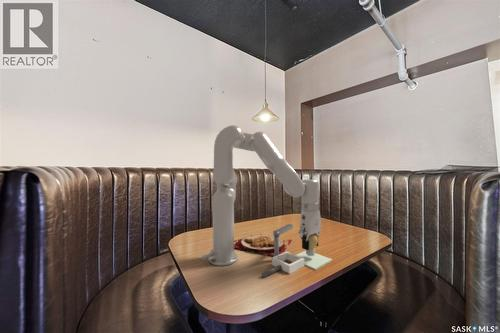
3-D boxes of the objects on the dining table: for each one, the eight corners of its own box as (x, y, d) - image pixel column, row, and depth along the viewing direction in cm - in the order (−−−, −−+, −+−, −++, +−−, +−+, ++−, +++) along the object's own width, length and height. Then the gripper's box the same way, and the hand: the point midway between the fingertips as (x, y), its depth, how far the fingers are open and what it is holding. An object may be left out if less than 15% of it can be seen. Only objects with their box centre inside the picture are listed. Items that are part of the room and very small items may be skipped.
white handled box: (271, 283, 68) (271, 253, 68) (249, 269, 78) (249, 243, 78) (304, 266, 81) (304, 240, 81) (282, 256, 90) (281, 233, 90)
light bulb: (314, 252, 90) (314, 230, 90) (320, 258, 83) (320, 234, 84) (301, 252, 90) (301, 230, 90) (305, 258, 83) (305, 235, 83)
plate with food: (279, 260, 88) (279, 252, 88) (229, 248, 99) (229, 241, 100) (292, 242, 110) (292, 236, 110) (250, 234, 122) (250, 229, 122)
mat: (315, 270, 77) (315, 268, 77) (289, 258, 87) (289, 257, 87) (332, 260, 86) (332, 259, 86) (306, 251, 96) (306, 249, 96)
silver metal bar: (293, 228, 97) (293, 224, 97) (277, 236, 85) (277, 232, 85) (288, 227, 99) (288, 223, 99) (272, 235, 86) (272, 231, 86)
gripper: (305, 210, 79) (306, 255, 78) (327, 205, 90) (328, 245, 89) (291, 208, 84) (291, 249, 84) (313, 203, 95) (313, 240, 95)
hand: (310, 246), depth 87 cm, fingers closed on light bulb, 6 cm apart
